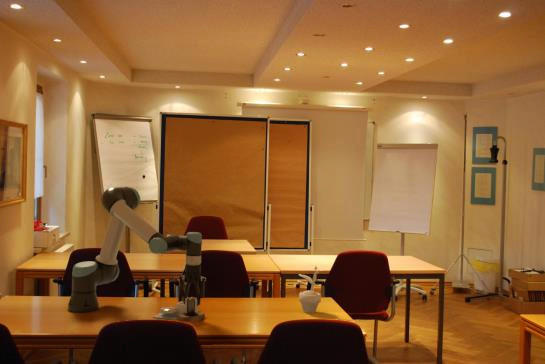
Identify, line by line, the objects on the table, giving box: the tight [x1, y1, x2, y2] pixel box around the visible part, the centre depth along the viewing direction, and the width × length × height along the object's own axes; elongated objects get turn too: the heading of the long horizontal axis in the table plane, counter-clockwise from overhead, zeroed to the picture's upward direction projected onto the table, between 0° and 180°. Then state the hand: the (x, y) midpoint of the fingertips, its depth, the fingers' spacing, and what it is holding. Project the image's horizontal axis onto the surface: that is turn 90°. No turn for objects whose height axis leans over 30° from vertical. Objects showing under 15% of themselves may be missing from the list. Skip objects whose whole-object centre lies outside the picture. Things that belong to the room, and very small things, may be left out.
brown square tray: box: [177, 311, 205, 323], centre depth 273 cm, size 10×10×2 cm
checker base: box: [152, 312, 179, 321], centre depth 277 cm, size 12×12×1 cm
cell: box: [187, 296, 197, 316], centre depth 273 cm, size 4×4×9 cm
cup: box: [175, 301, 187, 315], centre depth 279 cm, size 6×6×6 cm
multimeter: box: [177, 270, 189, 303], centre depth 292 cm, size 15×10×20 cm
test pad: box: [159, 306, 179, 314], centre depth 277 cm, size 9×9×2 cm
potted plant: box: [298, 266, 322, 314], centre depth 295 cm, size 13×12×25 cm
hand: (191, 311), depth 273 cm, fingers closed on cell, 4 cm apart
